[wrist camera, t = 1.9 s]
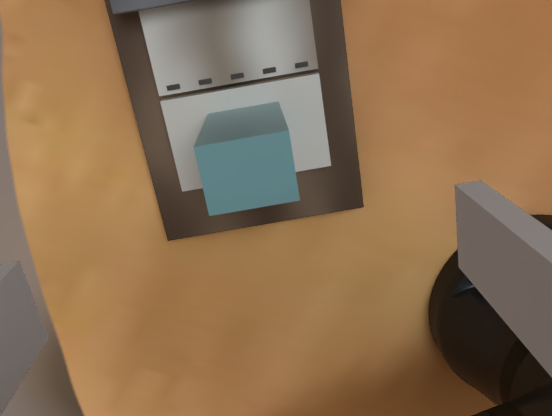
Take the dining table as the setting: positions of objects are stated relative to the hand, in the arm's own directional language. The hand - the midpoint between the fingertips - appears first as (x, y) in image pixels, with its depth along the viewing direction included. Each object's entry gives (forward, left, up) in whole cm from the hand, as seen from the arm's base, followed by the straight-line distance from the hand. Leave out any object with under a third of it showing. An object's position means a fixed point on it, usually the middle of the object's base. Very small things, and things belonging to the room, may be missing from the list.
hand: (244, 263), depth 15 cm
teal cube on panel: (0, 0, -19) cm, 19 cm away
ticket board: (0, -3, -21) cm, 21 cm away
